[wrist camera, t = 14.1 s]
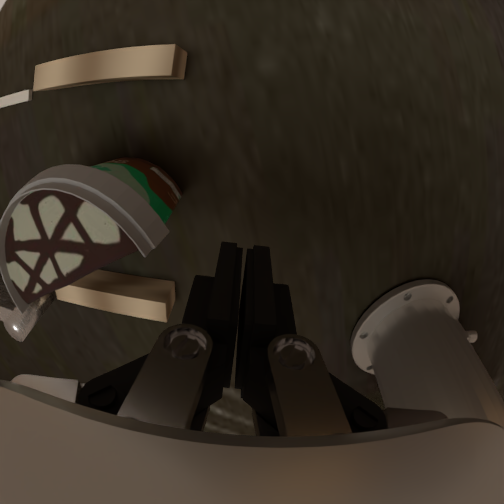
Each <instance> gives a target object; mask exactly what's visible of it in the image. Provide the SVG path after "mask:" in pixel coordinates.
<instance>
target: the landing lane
mask: <svg viewBox="0 0 504 504" xmlns="http://www.w3.org/2000/svg"><path fill="white" fill-rule="evenodd" d="M32 90H33V89H29V90H25V91H21V92H18V93H14V94H11V95H7V96H4V97H1V98H0V108H2V107H6V106H10V105H14V104H18V103H22V102H26V101H31V100H32Z"/></svg>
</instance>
